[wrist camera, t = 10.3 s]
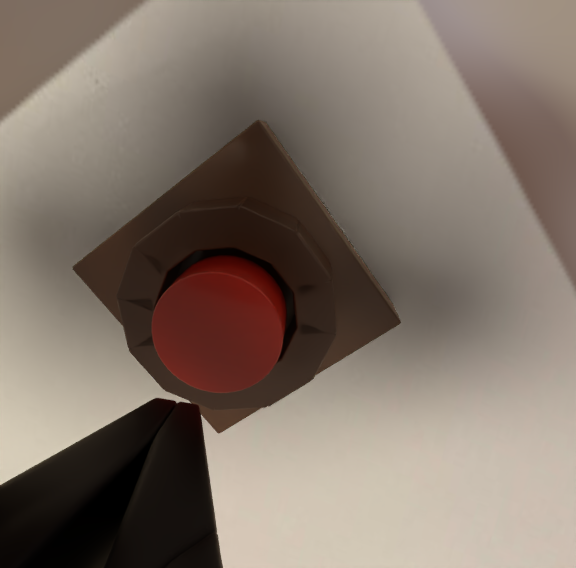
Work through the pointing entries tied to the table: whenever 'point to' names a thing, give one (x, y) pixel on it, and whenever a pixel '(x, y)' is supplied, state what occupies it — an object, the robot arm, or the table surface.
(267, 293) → the power button
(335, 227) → the button base
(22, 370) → the table surface
